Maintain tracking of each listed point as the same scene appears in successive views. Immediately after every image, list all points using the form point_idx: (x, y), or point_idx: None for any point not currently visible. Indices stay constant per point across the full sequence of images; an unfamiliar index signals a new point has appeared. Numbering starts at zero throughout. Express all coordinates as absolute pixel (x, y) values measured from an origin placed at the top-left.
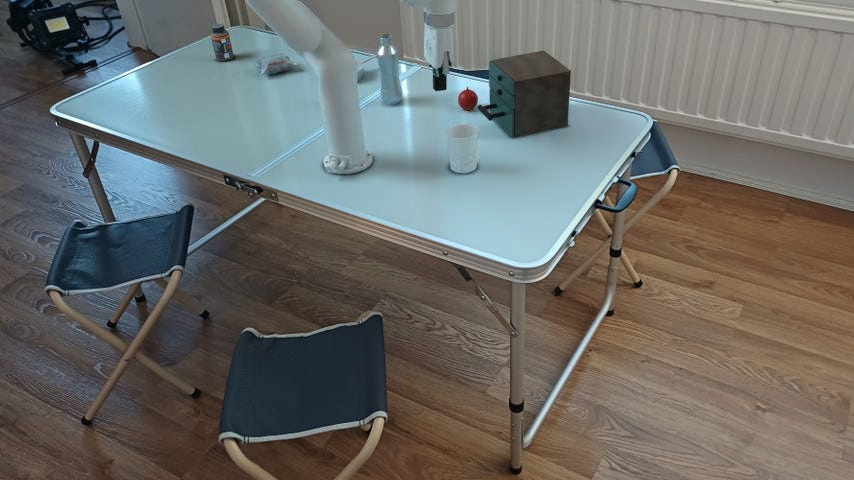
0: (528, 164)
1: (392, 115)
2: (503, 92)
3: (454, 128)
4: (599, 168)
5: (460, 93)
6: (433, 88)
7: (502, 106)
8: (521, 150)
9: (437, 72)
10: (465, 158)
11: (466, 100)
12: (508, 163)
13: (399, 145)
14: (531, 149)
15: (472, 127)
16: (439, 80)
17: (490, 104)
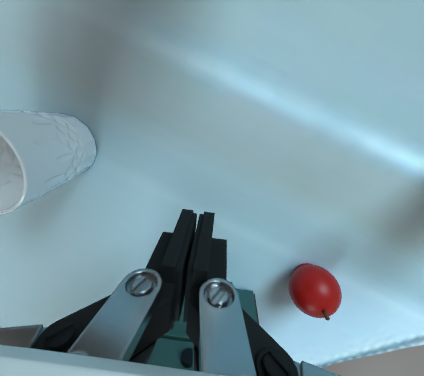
0: (44, 248)
1: (418, 110)
2: (165, 364)
3: (27, 161)
4: (6, 316)
5: (331, 291)
6: (205, 212)
7: (181, 323)
8: (96, 264)
9: (103, 308)
10: (1, 140)
11: (299, 285)
12: (57, 224)
13: (239, 47)
14: (94, 277)
15: (7, 208)
16: (148, 265)
17: (250, 310)
